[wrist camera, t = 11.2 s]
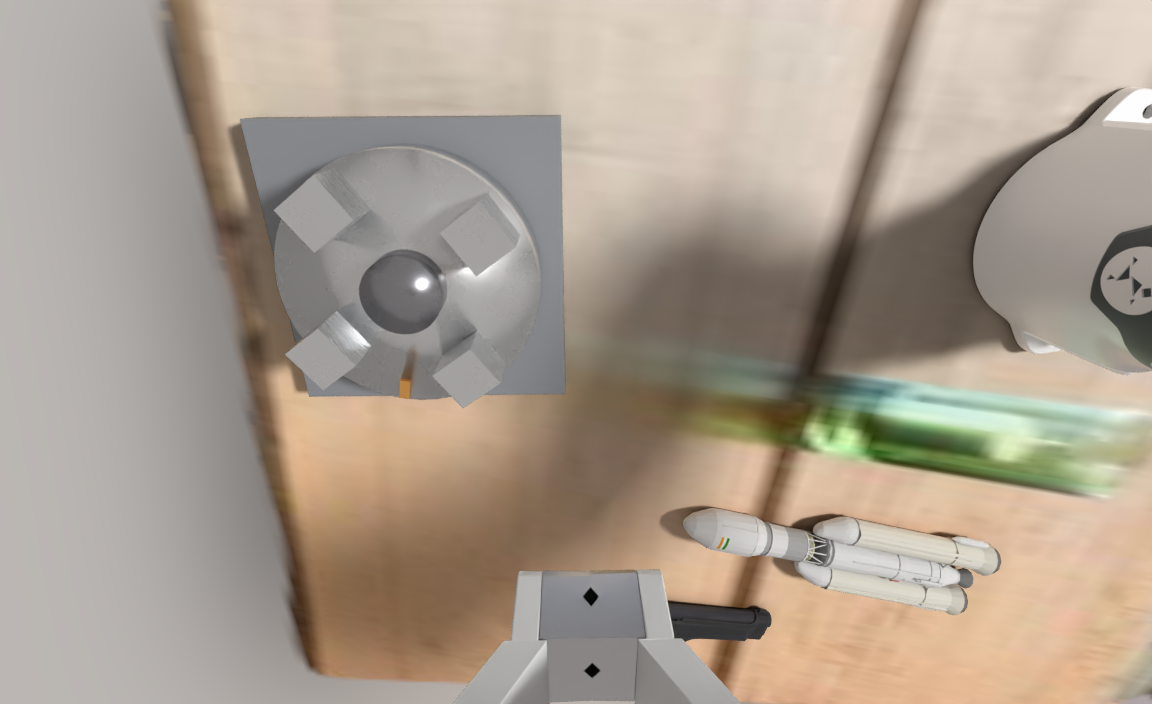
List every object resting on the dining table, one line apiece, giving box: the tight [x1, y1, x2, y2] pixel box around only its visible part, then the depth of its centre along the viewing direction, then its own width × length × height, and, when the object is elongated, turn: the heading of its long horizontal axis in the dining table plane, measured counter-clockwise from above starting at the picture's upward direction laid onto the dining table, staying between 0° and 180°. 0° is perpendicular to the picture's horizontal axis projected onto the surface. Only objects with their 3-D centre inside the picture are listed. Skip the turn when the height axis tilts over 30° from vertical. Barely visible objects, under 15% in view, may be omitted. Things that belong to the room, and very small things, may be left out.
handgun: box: [668, 603, 771, 642], centre depth 58 cm, size 3×21×14 cm
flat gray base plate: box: [240, 115, 565, 397], centre depth 40 cm, size 20×20×2 cm
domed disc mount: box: [274, 144, 541, 408], centre depth 36 cm, size 17×17×6 cm
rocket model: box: [683, 508, 1001, 615], centre depth 51 cm, size 9×4×30 cm
